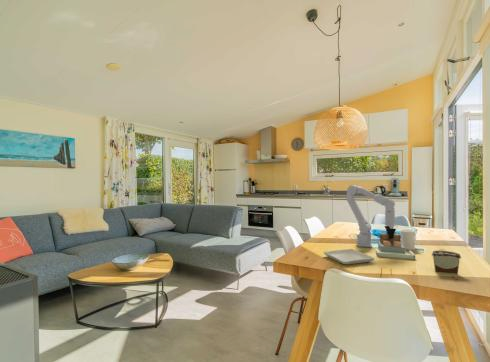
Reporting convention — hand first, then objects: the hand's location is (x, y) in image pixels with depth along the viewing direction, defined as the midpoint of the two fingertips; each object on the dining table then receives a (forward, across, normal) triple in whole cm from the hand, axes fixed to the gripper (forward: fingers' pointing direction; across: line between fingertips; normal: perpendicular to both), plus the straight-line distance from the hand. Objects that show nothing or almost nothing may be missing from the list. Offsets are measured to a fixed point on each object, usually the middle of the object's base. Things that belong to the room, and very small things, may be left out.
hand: (390, 237), depth 184 cm
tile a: (+4, -8, +3) cm, 9 cm away
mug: (+8, +7, -13) cm, 17 cm away
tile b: (+4, -8, -3) cm, 9 cm away
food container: (+8, -41, -19) cm, 46 cm away
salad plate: (+8, -35, +27) cm, 45 cm away
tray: (+8, -17, 0) cm, 19 cm away
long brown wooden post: (+4, 0, 0) cm, 4 cm away
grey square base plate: (+8, -4, 0) cm, 9 cm away
